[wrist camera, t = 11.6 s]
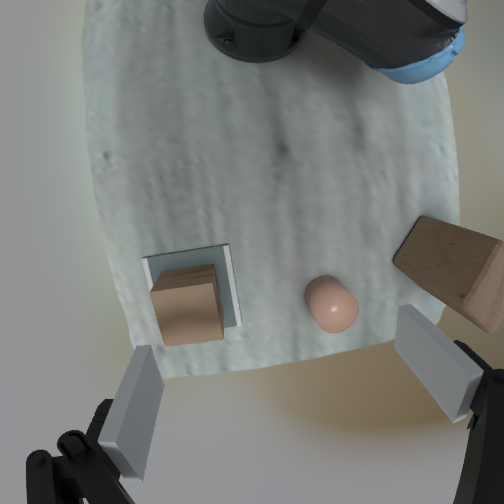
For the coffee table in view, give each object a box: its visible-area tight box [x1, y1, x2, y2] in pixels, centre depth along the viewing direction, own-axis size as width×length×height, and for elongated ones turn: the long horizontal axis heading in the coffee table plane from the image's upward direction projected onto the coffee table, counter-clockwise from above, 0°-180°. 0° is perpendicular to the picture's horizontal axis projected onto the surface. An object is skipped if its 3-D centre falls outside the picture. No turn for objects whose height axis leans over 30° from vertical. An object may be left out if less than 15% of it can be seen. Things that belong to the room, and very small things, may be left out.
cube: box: [150, 264, 224, 346], centre depth 42 cm, size 8×8×8 cm
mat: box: [142, 244, 242, 328], centre depth 46 cm, size 13×13×1 cm
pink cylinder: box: [304, 276, 359, 333], centre depth 45 cm, size 6×6×7 cm
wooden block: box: [393, 216, 504, 334], centre depth 39 cm, size 10×10×20 cm
